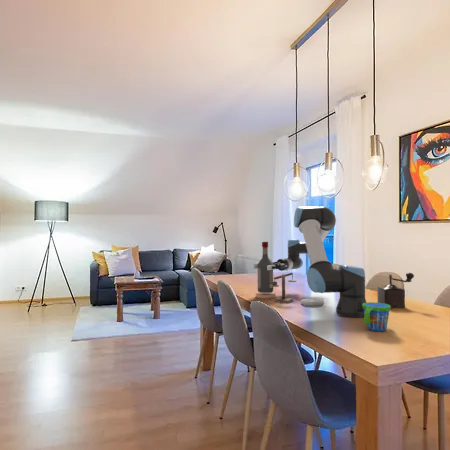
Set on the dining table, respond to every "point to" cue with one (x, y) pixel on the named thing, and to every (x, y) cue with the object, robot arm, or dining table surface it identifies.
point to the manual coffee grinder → (393, 293)
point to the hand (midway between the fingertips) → (260, 267)
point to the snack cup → (376, 315)
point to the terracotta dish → (265, 295)
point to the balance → (283, 288)
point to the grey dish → (312, 302)
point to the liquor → (265, 272)
